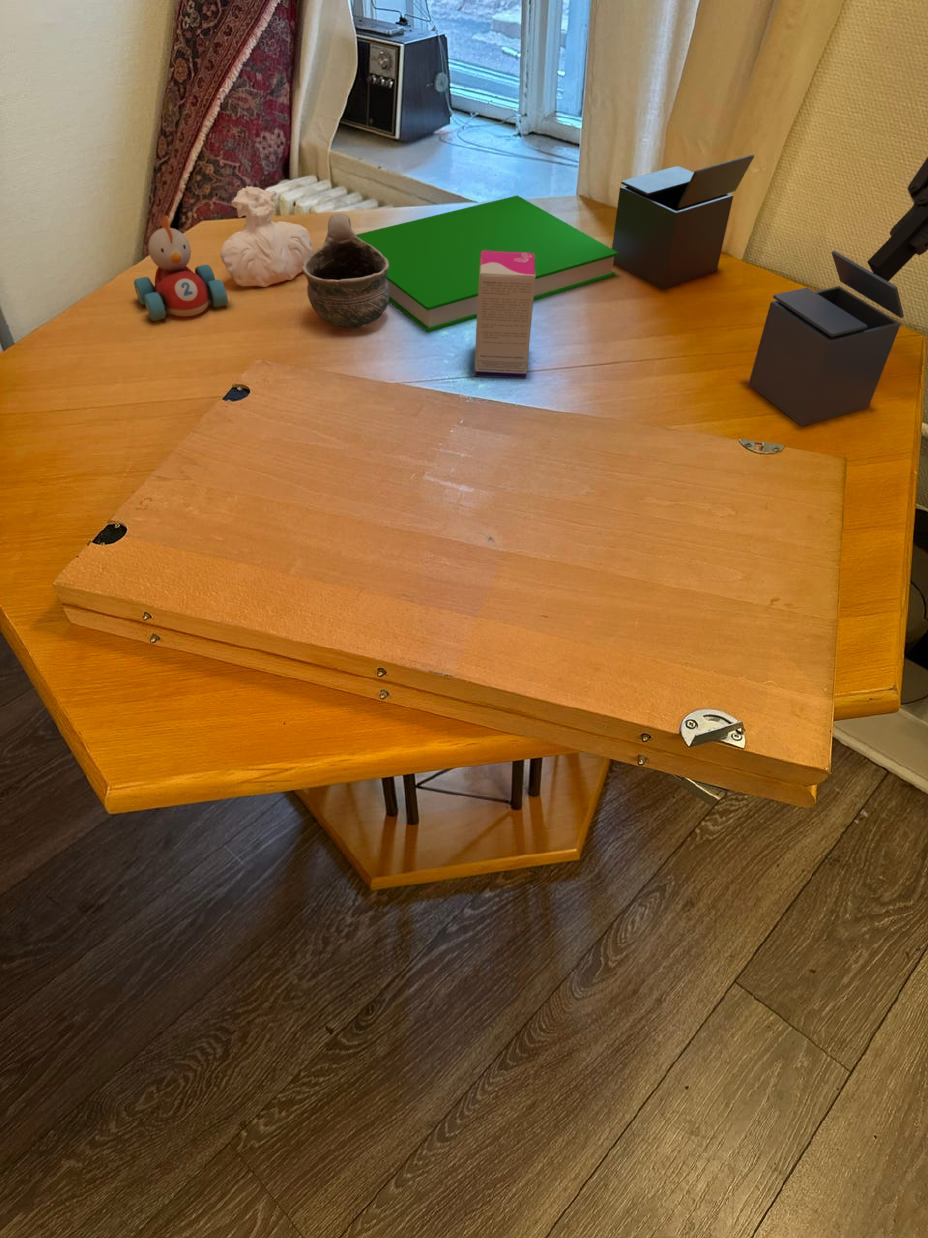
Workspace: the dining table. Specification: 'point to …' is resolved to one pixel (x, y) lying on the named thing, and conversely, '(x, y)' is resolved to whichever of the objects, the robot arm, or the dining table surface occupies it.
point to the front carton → (821, 353)
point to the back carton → (668, 229)
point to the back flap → (715, 181)
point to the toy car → (177, 278)
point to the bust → (264, 243)
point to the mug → (346, 277)
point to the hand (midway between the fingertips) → (876, 272)
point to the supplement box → (504, 313)
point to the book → (450, 257)
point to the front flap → (868, 284)
